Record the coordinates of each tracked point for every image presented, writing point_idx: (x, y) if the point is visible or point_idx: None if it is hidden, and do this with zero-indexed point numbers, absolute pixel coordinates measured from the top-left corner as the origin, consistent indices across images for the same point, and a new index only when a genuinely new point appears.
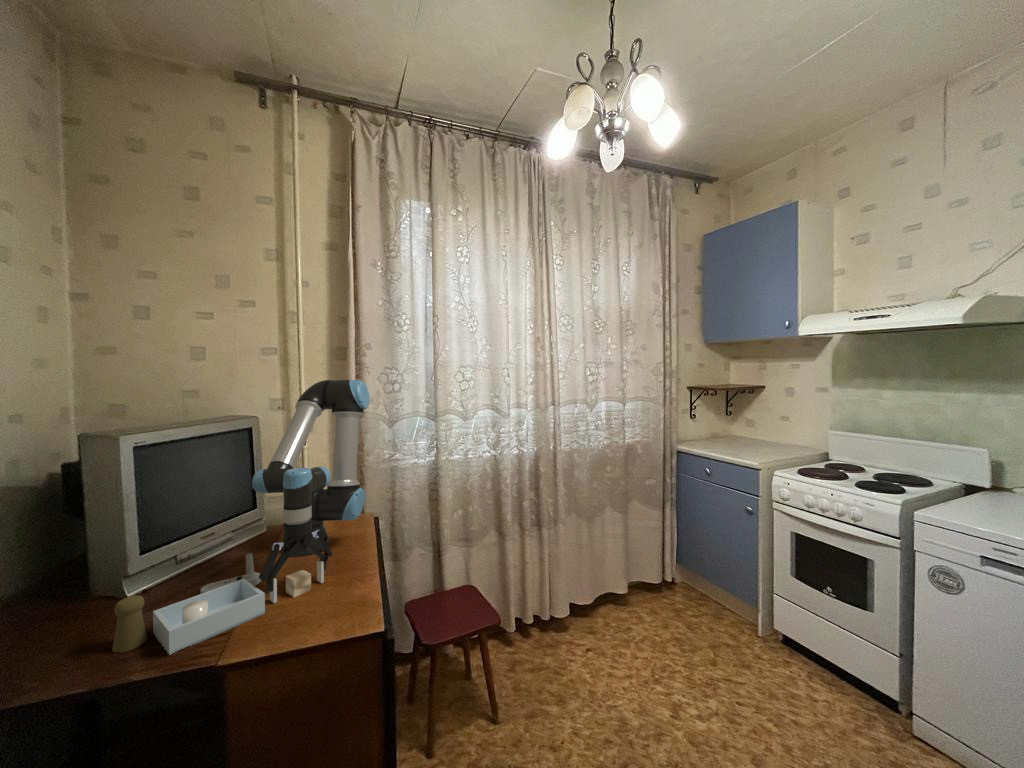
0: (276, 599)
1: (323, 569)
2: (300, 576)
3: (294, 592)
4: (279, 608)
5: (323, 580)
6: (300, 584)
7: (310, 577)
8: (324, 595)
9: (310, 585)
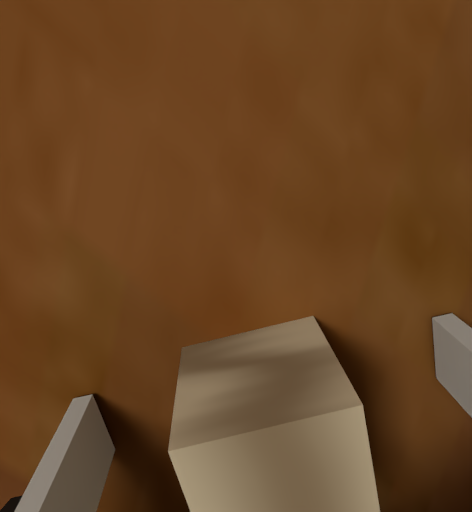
0: (447, 327)
1: (25, 495)
2: (278, 456)
3: (320, 334)
4: (444, 221)
5: (70, 408)
6: (277, 377)
7: (177, 420)
8: (107, 183)
9: (184, 369)
